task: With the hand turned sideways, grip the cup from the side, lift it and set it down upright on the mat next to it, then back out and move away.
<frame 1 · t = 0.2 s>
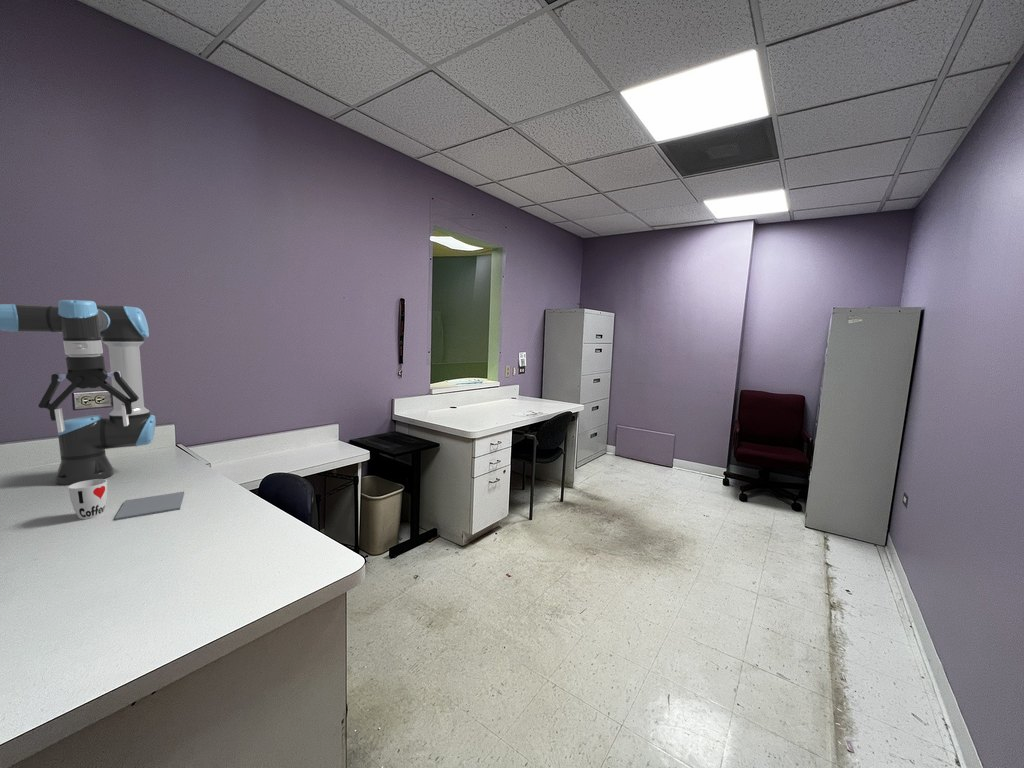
hand: (95, 428, 120), 27 cm above the table, tool pointing down, fingers open, 13 cm apart
mat: (152, 505, 132), on the table
cup: (91, 516, 124), on the table
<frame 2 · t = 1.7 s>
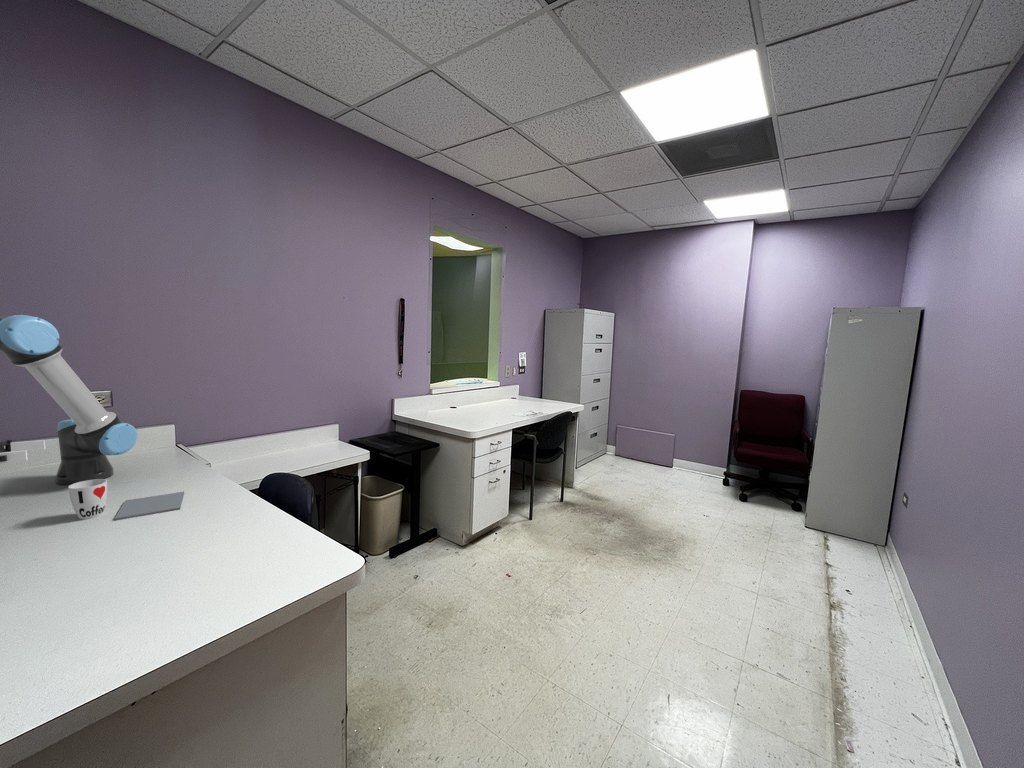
hand: (36, 449, 116), 22 cm above the table, tool horizontal, fingers open, 13 cm apart
nothing on the table moved.
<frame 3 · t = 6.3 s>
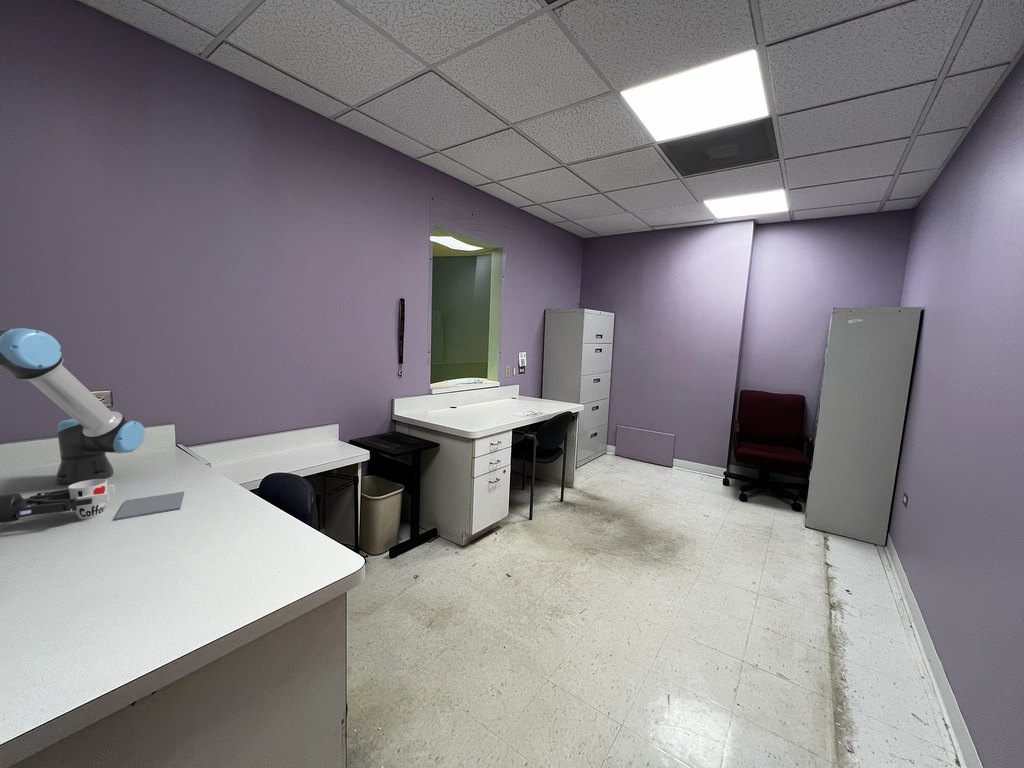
hand: (111, 493, 126), 6 cm above the table, tool horizontal, fingers closed on cup, 8 cm apart
cup: (91, 516, 124), on the table, touching gripper
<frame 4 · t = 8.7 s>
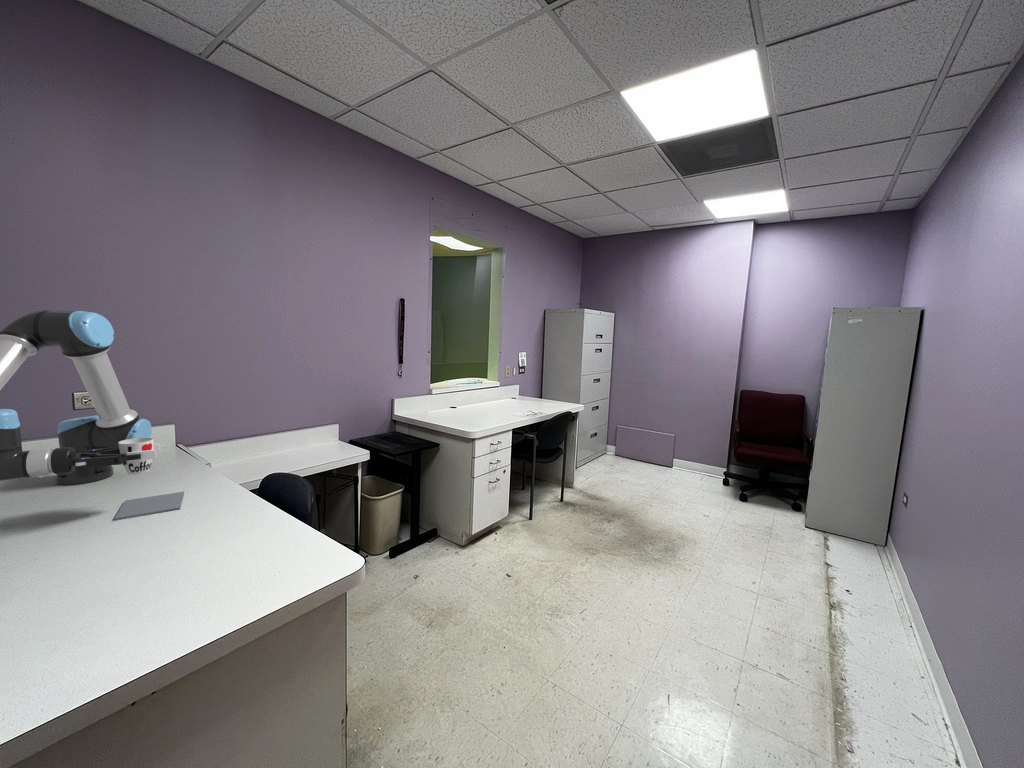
hand: (157, 450, 131), 18 cm above the table, tool horizontal, fingers closed on cup, 8 cm apart
cup: (138, 472, 129), point 12 cm above the table, touching gripper
when the fingers open (8 cm above the table, at t = 11.2 s): cup drops 1 cm, resting on mat.
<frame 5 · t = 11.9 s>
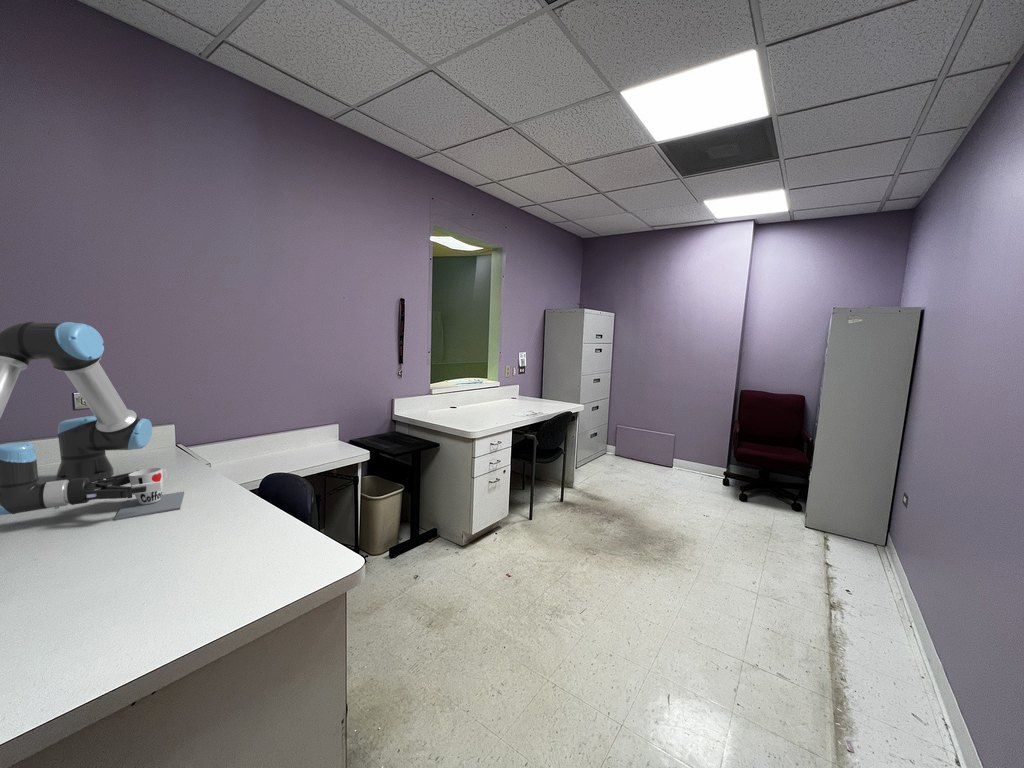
hand: (163, 479, 133), 8 cm above the table, tool horizontal, fingers open, 13 cm apart
cup: (150, 502, 133), point 1 cm above the table, touching gripper, mat
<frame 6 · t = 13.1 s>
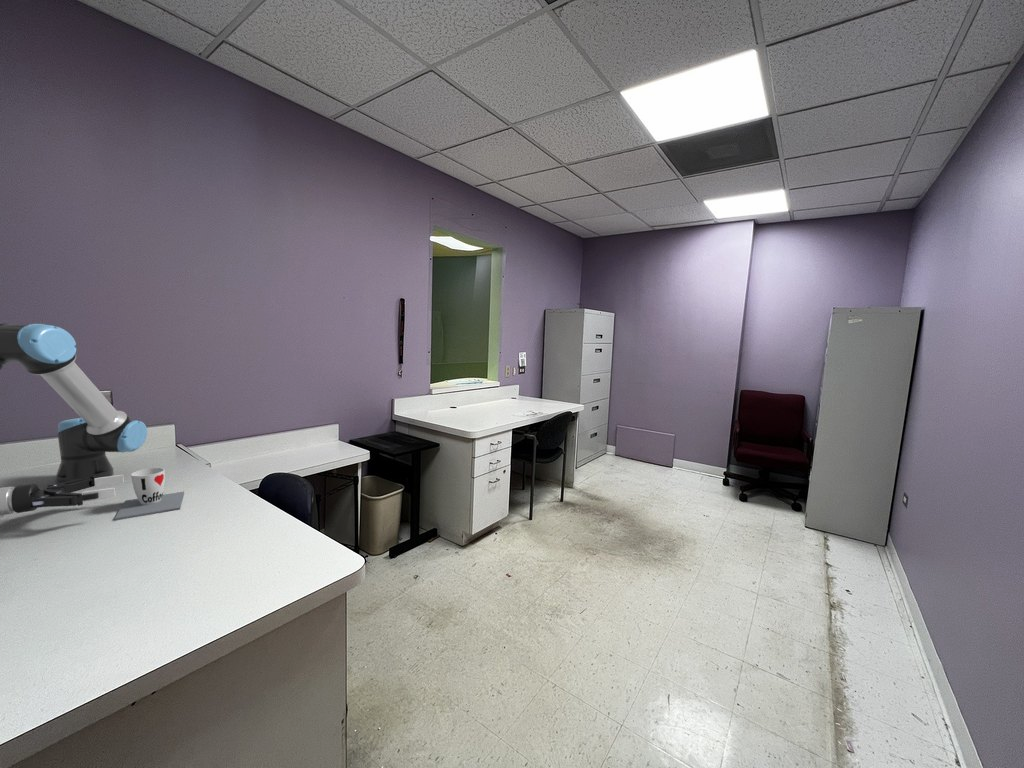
hand: (119, 485, 127), 8 cm above the table, tool horizontal, fingers open, 13 cm apart
cup: (151, 502, 134), resting on mat
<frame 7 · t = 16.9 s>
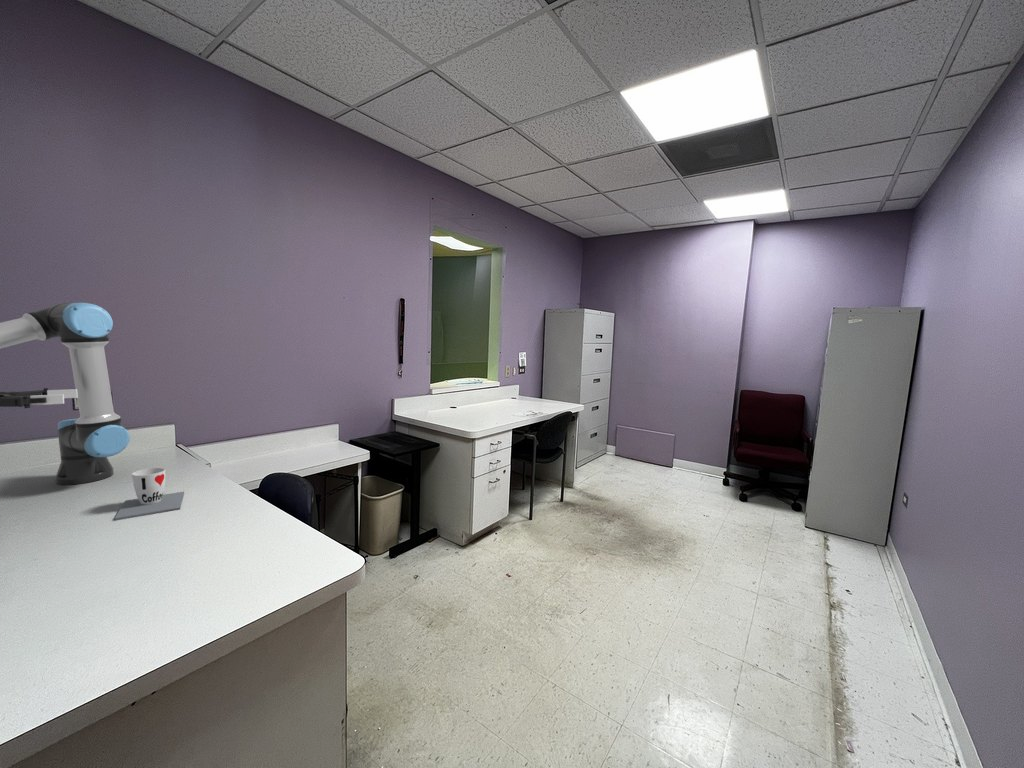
hand: (70, 396, 128), 35 cm above the table, tool horizontal, fingers open, 13 cm apart
nothing on the table moved.
at the end: cup inside the target area on the mat (2.6 cm from its centre), point 0.4 cm above the mat's base; cup tilted 1°; the gripper is holding nothing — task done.
